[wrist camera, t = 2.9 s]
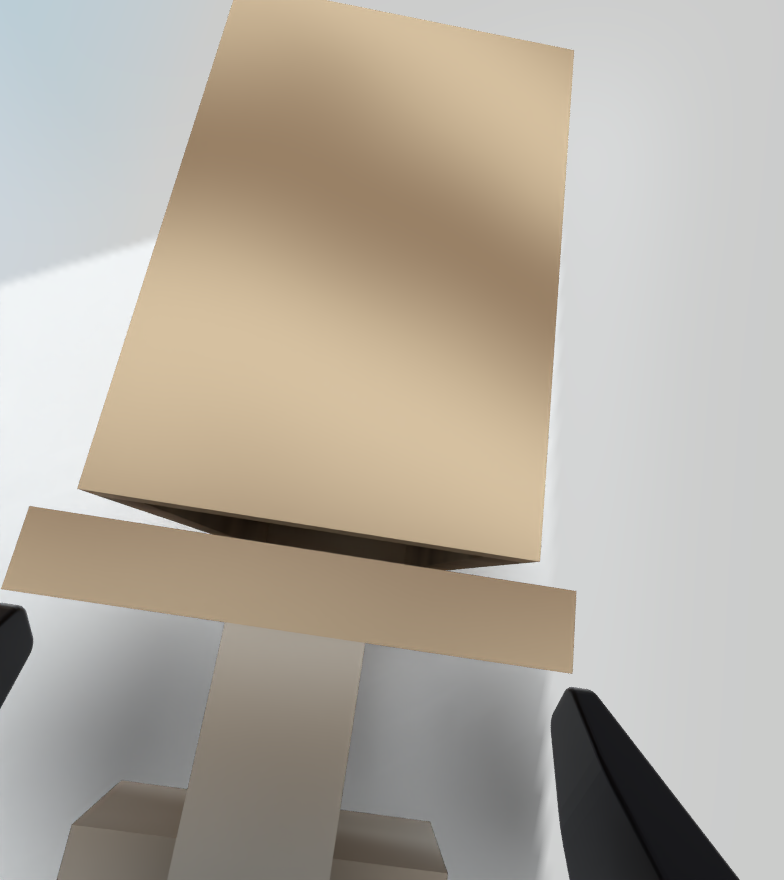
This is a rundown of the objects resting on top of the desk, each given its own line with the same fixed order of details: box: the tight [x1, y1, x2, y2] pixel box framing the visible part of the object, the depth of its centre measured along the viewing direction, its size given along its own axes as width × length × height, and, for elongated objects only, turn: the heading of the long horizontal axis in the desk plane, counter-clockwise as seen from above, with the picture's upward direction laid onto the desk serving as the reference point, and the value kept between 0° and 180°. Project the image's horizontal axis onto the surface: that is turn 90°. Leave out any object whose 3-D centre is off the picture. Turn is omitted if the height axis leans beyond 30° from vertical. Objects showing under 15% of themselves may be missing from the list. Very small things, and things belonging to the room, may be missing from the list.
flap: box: [1, 506, 576, 880], centre depth 11 cm, size 5×7×11 cm
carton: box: [77, 0, 574, 570], centre depth 14 cm, size 9×6×12 cm, turn 171°
